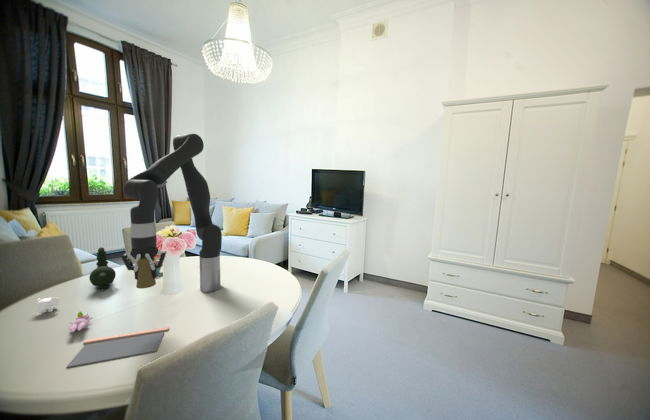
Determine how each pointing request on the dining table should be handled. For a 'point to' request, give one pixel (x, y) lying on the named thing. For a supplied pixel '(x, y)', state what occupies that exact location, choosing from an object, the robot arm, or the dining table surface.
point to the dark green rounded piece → (102, 272)
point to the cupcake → (157, 263)
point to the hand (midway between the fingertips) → (146, 279)
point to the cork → (144, 274)
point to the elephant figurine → (46, 304)
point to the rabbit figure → (79, 322)
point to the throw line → (125, 335)
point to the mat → (116, 349)
